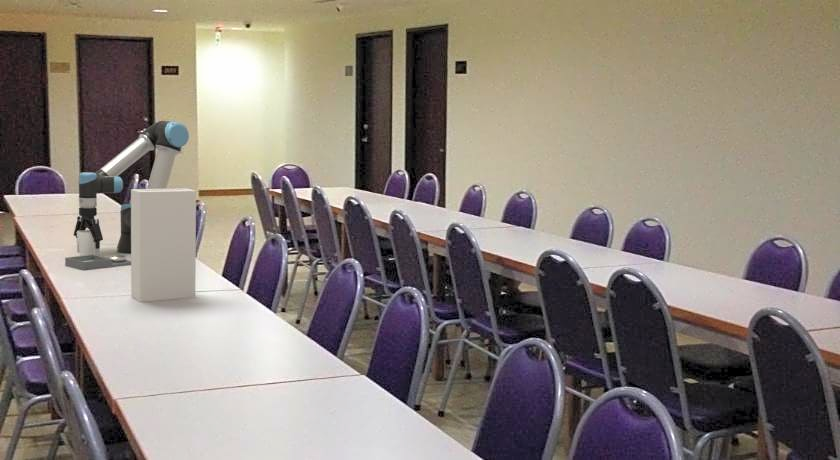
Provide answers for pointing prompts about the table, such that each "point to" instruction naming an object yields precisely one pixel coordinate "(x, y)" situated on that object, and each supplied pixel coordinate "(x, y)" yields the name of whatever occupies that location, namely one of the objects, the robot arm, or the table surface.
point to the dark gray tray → (92, 262)
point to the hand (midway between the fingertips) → (88, 254)
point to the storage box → (163, 244)
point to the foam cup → (85, 242)
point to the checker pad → (116, 258)
